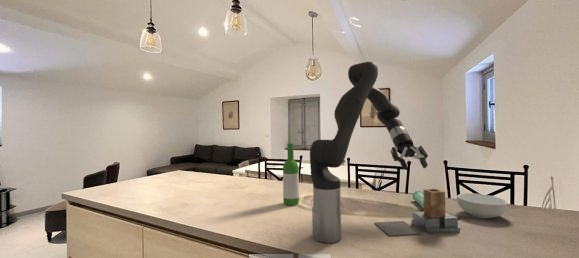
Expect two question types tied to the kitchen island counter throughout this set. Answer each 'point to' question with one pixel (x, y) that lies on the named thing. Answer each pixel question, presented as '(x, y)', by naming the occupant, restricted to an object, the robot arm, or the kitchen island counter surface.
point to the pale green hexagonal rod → (418, 197)
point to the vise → (436, 223)
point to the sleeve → (434, 202)
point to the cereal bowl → (482, 205)
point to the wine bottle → (290, 179)
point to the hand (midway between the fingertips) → (415, 167)
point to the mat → (397, 228)
